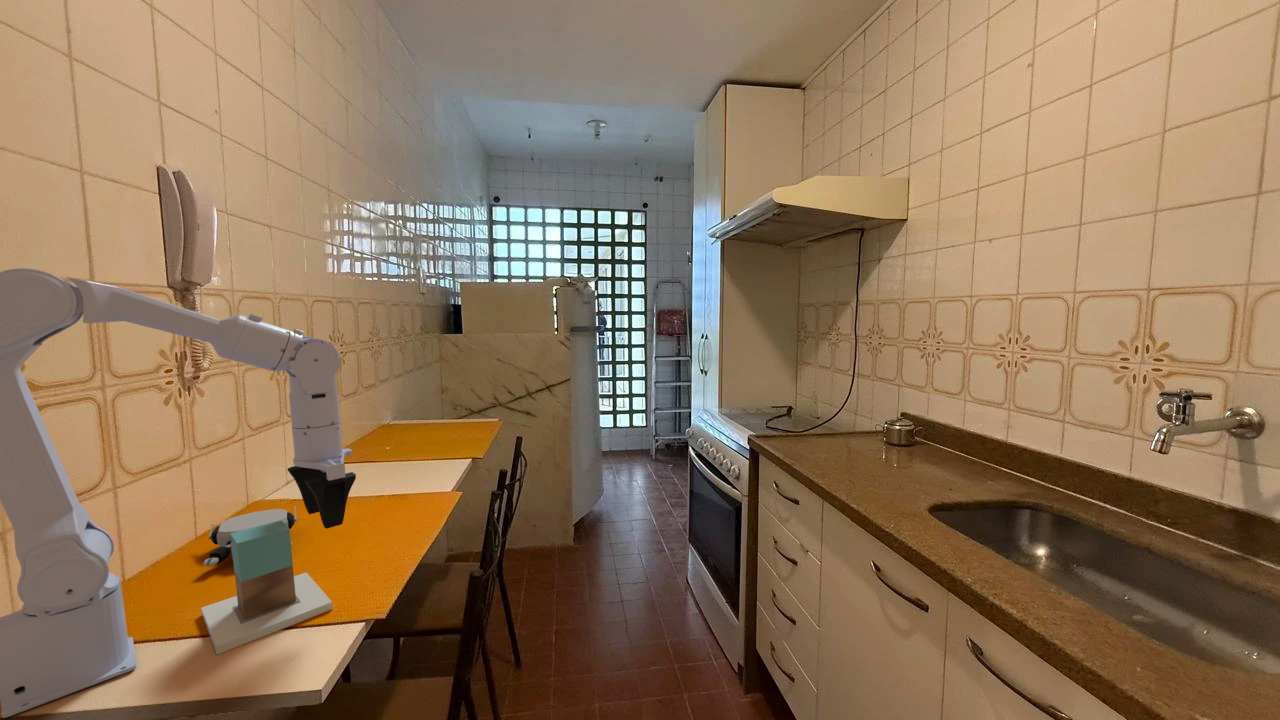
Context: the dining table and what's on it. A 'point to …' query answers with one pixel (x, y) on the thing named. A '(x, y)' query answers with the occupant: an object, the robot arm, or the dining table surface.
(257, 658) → the dining table surface
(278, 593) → the walnut brick
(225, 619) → the build plate
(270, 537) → the teal brick
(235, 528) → the robot toy
